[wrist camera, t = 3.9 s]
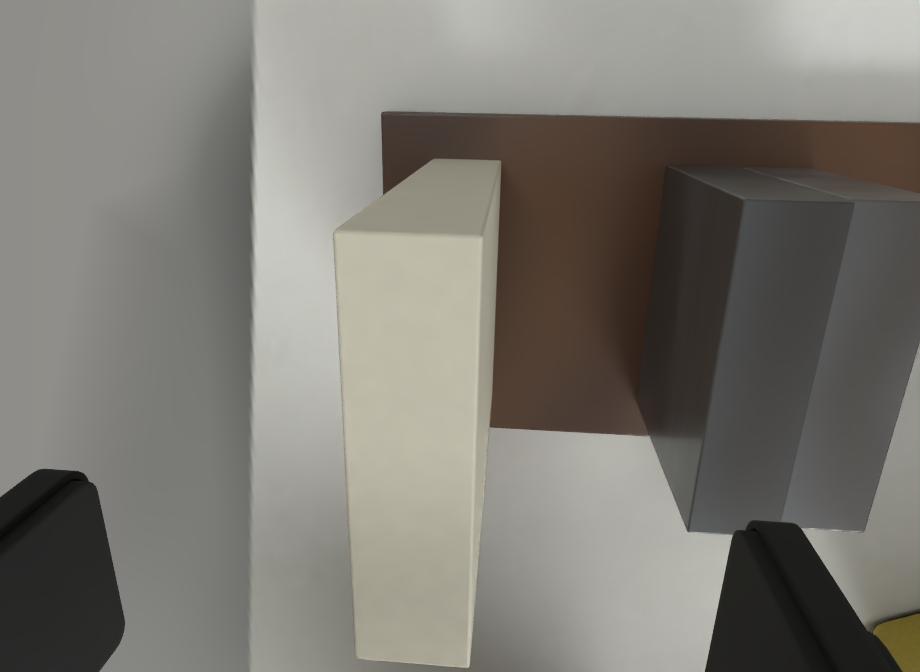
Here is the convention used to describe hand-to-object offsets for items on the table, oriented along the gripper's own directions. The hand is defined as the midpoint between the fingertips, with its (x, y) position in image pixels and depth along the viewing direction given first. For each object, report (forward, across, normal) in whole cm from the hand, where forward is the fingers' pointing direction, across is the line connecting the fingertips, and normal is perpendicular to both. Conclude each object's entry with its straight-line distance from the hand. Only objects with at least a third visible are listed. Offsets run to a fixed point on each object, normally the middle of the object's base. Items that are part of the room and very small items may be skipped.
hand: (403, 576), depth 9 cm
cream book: (+15, 0, 0) cm, 15 cm away
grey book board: (+16, -6, 0) cm, 18 cm away
